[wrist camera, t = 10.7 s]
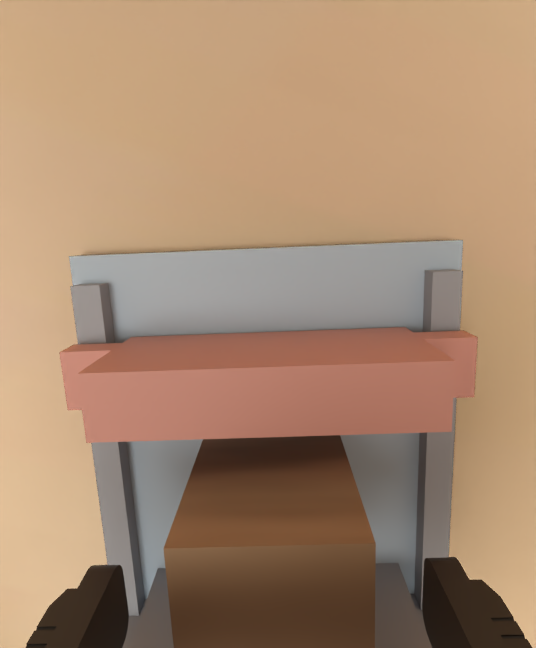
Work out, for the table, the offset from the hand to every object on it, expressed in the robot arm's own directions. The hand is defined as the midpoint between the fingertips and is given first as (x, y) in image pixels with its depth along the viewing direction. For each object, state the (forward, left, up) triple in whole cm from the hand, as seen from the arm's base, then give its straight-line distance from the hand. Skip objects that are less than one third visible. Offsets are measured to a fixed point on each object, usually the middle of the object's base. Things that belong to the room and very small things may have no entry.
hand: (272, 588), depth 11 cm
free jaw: (-5, 0, -6) cm, 7 cm away
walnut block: (0, 0, -6) cm, 6 cm away
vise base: (-1, 0, -7) cm, 7 cm away
